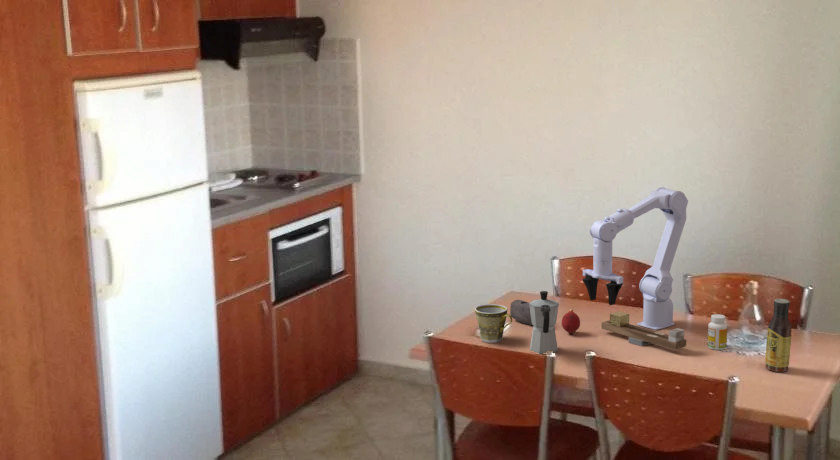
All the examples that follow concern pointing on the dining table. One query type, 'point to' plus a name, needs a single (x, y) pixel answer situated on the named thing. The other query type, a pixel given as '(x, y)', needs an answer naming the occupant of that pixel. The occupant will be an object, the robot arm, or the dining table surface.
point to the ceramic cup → (491, 322)
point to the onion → (570, 322)
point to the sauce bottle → (779, 338)
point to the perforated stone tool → (521, 311)
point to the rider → (619, 318)
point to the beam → (648, 335)
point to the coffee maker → (543, 324)
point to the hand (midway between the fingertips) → (602, 302)
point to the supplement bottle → (717, 332)
